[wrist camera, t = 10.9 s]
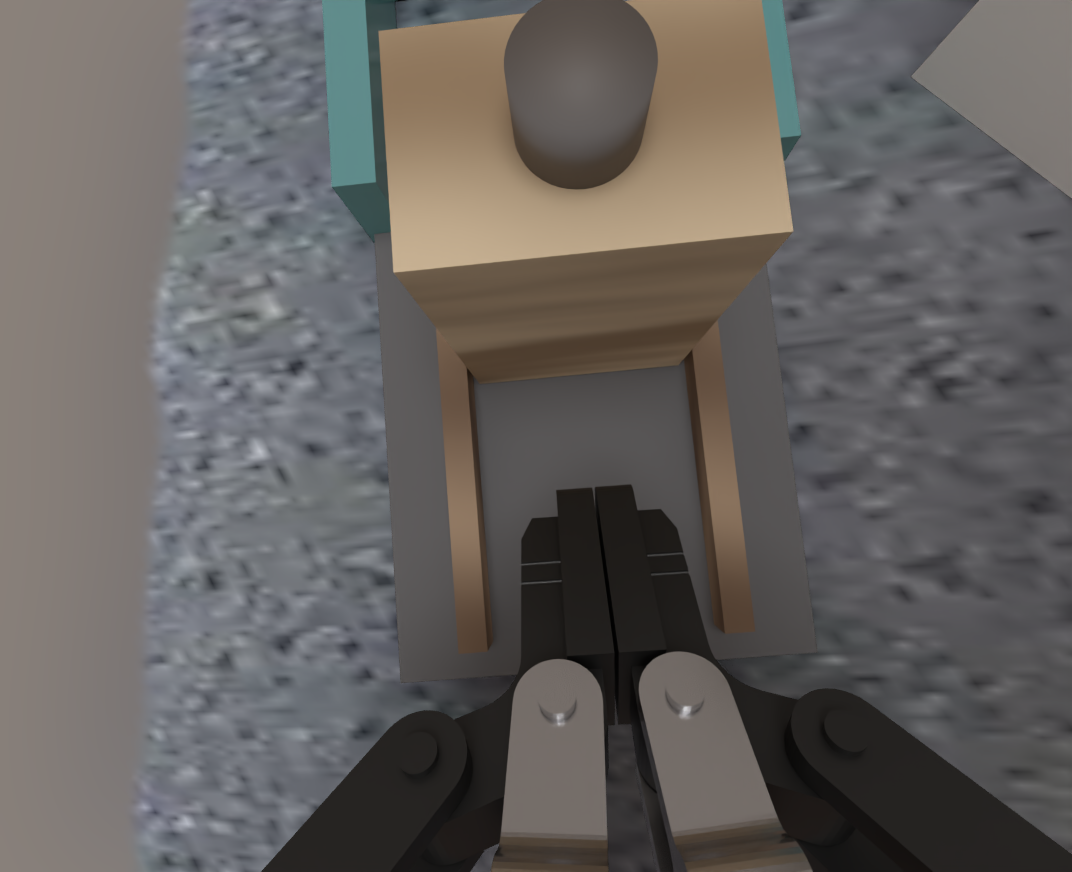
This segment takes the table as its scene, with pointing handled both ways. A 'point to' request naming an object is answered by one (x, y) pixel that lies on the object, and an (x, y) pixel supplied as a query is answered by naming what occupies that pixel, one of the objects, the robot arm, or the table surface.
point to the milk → (1012, 79)
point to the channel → (713, 486)
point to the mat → (583, 479)
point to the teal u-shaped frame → (357, 103)
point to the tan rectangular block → (582, 179)
